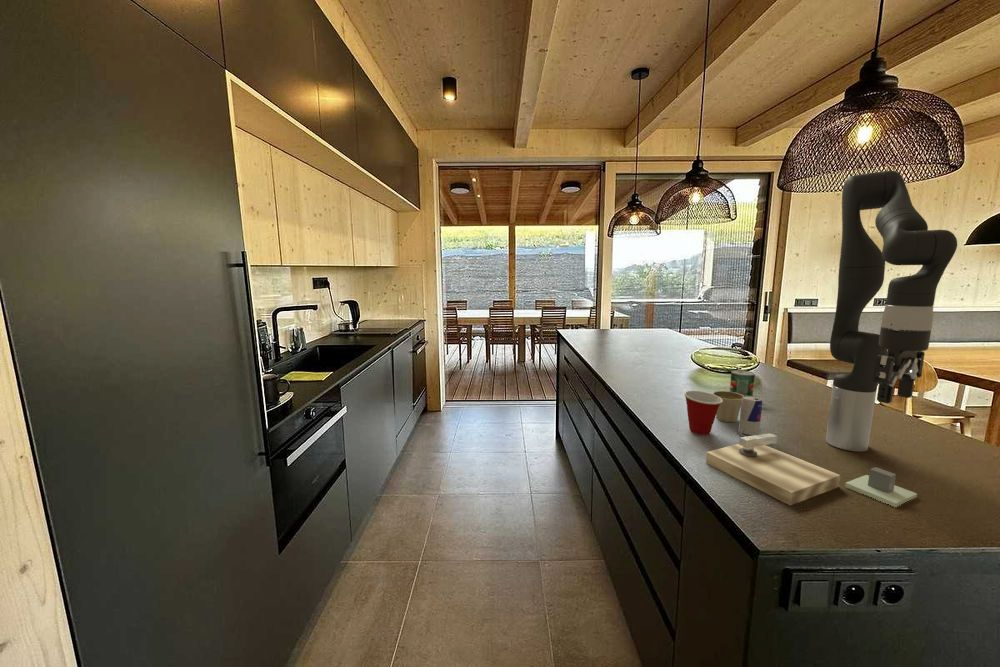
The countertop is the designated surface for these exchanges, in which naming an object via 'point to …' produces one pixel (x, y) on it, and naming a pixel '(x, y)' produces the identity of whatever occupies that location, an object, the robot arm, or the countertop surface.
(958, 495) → the countertop surface
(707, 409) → the plastic cup
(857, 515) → the countertop surface
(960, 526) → the countertop surface
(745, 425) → the energy drink
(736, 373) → the canned tomato
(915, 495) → the snap lid
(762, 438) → the grey long bar
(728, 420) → the flower pot
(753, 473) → the latch base
